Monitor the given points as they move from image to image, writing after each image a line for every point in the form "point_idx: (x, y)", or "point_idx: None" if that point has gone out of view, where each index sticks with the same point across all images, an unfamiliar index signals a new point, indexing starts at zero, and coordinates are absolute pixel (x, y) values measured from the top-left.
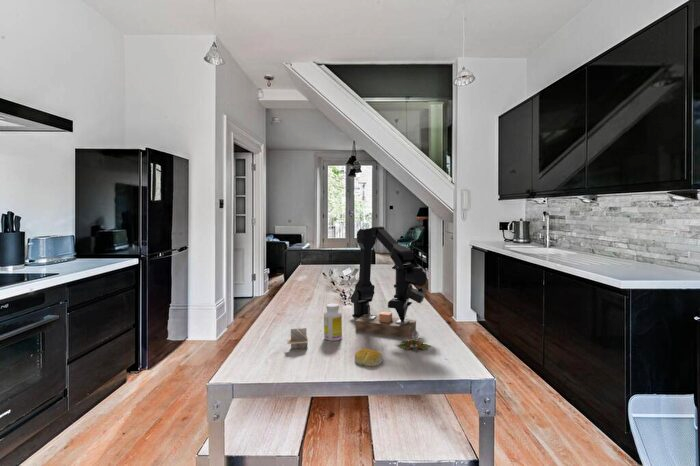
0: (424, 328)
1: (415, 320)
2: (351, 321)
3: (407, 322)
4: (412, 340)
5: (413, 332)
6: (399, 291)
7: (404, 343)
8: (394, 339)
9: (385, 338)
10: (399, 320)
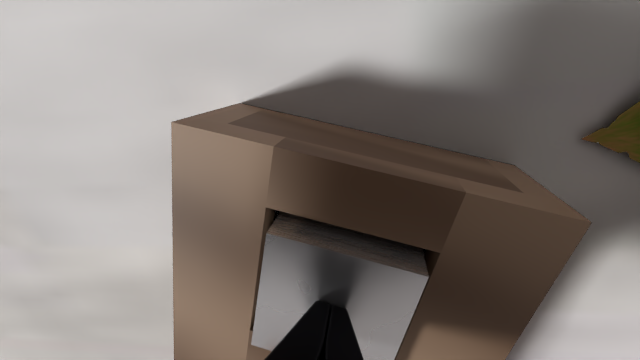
0: (146, 8)
1: (173, 129)
2: None
3: (349, 248)
4: (624, 121)
5: (329, 124)
6: None
7: None
8: (555, 292)
9: (525, 354)
10: None
